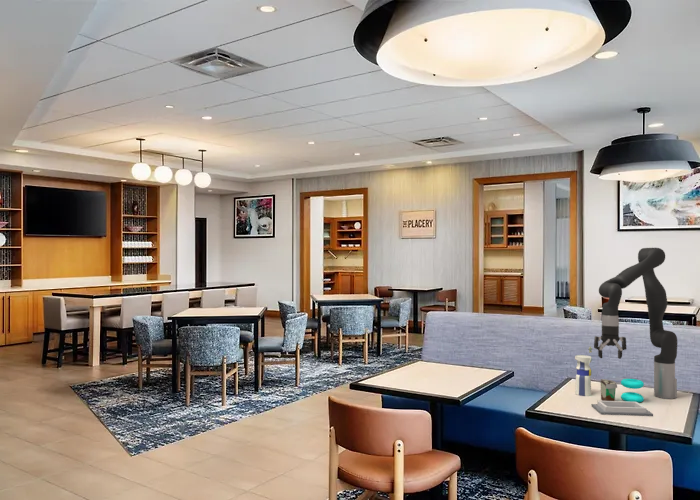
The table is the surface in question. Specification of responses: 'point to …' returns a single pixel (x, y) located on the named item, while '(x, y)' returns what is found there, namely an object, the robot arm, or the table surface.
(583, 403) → the table surface
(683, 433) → the table surface
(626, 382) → the donuts
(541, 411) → the table surface
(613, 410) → the tray
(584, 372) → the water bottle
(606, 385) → the food container
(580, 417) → the table surface
